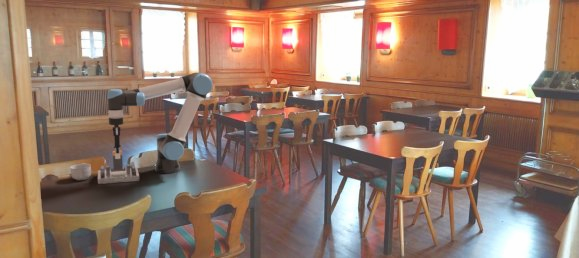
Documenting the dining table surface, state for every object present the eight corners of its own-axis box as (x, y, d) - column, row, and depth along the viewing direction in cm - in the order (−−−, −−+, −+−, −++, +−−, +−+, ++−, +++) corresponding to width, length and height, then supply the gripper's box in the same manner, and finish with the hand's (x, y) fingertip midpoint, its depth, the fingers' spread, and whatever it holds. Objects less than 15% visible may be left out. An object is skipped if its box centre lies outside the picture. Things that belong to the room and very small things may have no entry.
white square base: (134, 167, 284) (134, 161, 283) (136, 176, 267) (136, 170, 266) (100, 170, 277) (100, 164, 277) (100, 178, 260) (100, 172, 259)
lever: (125, 170, 274) (124, 150, 272) (125, 171, 272) (124, 151, 270) (110, 171, 271) (109, 151, 269) (110, 172, 270) (109, 152, 267)
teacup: (86, 182, 264) (85, 168, 262) (67, 181, 264) (66, 167, 262) (96, 175, 277) (96, 162, 276) (78, 174, 278) (77, 161, 276)
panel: (137, 172, 285) (136, 160, 283) (139, 180, 268) (138, 168, 267) (98, 175, 277) (97, 163, 275) (98, 184, 260) (97, 171, 259)
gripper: (108, 115, 264) (110, 156, 268) (108, 119, 252) (110, 161, 256) (122, 115, 267) (124, 155, 271) (123, 118, 255) (125, 160, 259)
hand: (117, 158), depth 264 cm, fingers closed
